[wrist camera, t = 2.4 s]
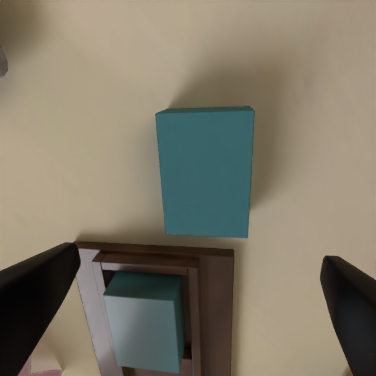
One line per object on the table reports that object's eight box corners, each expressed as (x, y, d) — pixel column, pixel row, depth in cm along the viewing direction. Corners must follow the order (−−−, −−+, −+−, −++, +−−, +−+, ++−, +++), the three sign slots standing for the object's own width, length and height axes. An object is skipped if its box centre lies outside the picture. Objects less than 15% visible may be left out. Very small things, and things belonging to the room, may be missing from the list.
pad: (250, 106, 16) (254, 110, 14) (244, 216, 19) (247, 238, 16) (166, 108, 17) (155, 113, 14) (174, 214, 20) (165, 234, 17)
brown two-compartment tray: (233, 249, 20) (235, 284, 17) (228, 412, 29) (228, 460, 25) (74, 240, 23) (44, 271, 19) (111, 395, 31) (96, 437, 27)
